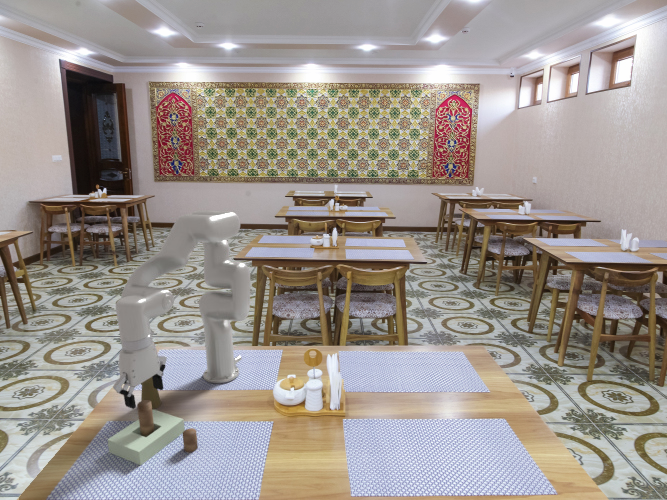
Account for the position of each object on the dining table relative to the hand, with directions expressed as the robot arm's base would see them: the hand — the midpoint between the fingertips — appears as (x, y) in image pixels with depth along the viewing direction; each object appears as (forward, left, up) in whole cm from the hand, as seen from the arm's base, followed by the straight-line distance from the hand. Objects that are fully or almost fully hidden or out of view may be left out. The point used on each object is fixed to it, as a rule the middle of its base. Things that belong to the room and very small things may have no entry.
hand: (145, 397), depth 129 cm
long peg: (+1, 0, -13) cm, 13 cm away
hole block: (+1, 0, -13) cm, 13 cm away
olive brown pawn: (-13, -14, -14) cm, 24 cm away
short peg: (-2, +13, -13) cm, 19 cm away
